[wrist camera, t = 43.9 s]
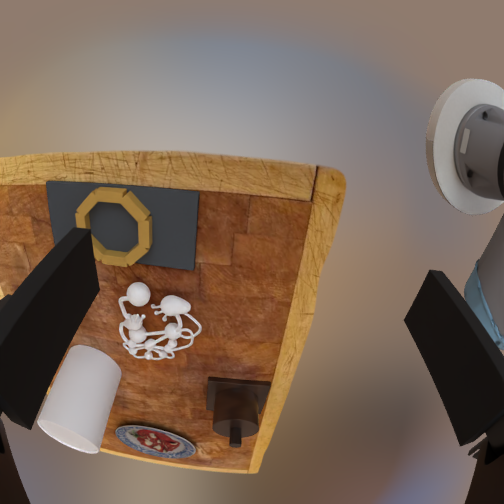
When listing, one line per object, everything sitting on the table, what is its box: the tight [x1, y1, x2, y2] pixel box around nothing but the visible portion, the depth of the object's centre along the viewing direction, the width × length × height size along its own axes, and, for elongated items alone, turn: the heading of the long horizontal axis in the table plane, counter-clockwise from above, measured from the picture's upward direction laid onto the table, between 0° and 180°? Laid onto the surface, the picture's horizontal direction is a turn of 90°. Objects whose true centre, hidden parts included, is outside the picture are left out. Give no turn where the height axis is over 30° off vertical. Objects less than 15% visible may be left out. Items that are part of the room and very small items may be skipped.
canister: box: [37, 345, 122, 454], centre depth 49 cm, size 14×14×20 cm
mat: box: [46, 181, 200, 270], centre depth 40 cm, size 24×12×1 cm, turn 82°
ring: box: [75, 187, 152, 267], centre depth 39 cm, size 12×12×2 cm
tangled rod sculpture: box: [119, 282, 202, 360], centre depth 49 cm, size 19×14×4 cm
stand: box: [206, 377, 271, 448], centre depth 57 cm, size 13×13×13 cm
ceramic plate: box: [115, 425, 196, 458], centre depth 76 cm, size 26×26×3 cm
